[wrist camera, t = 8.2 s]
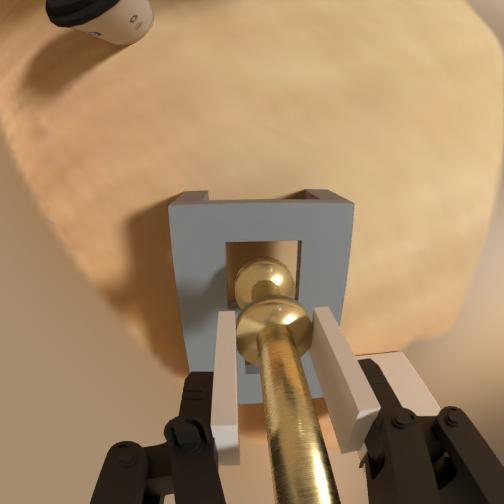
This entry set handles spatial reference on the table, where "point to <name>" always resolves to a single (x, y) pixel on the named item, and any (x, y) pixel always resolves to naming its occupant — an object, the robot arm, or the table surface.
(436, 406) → the milk carton
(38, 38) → the table surface
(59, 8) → the coffee cup
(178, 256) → the keyhole plate
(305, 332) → the brass t bolt
